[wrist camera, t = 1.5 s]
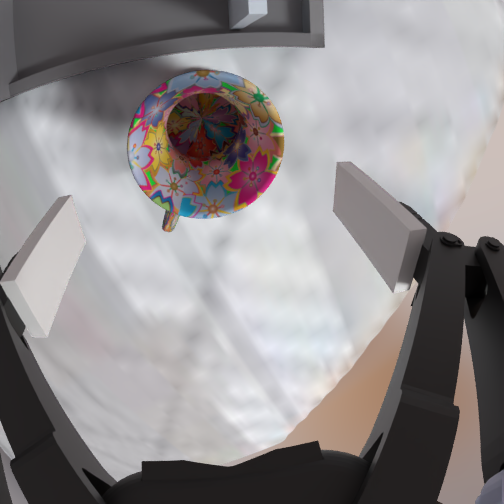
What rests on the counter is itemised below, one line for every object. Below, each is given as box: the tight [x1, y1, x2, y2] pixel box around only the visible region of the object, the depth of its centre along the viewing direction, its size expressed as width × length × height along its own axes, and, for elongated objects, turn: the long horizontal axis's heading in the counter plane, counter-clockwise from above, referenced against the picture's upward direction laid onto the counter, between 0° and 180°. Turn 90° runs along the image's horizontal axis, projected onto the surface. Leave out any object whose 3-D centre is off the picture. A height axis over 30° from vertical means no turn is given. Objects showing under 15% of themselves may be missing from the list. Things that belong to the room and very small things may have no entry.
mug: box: [127, 70, 284, 232], centre depth 23 cm, size 12×9×11 cm
